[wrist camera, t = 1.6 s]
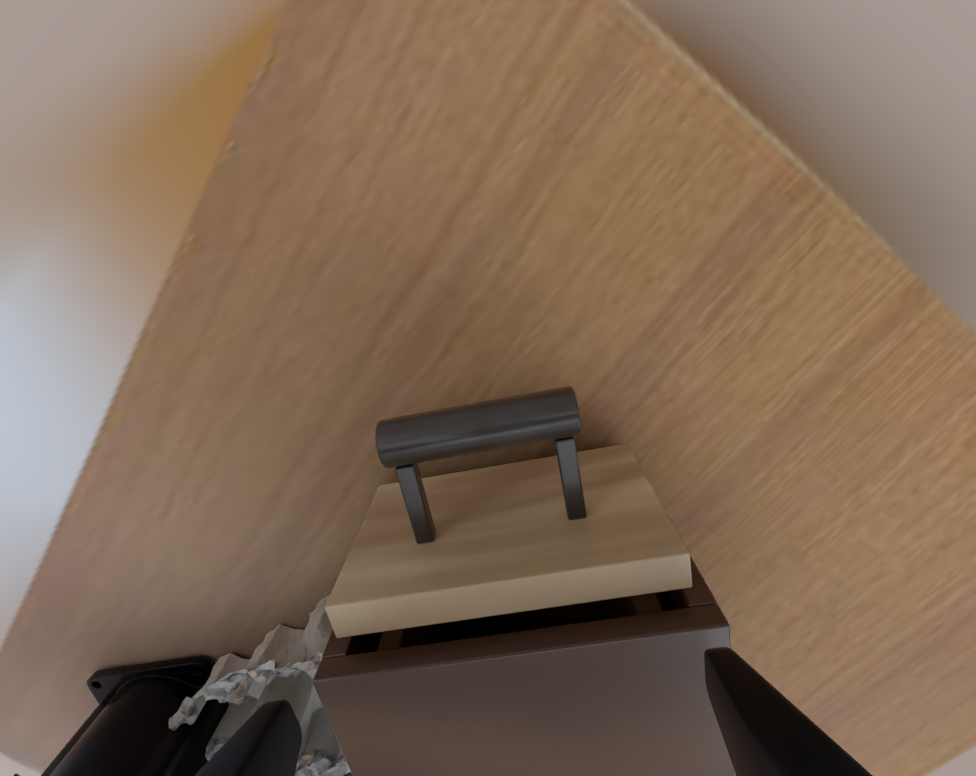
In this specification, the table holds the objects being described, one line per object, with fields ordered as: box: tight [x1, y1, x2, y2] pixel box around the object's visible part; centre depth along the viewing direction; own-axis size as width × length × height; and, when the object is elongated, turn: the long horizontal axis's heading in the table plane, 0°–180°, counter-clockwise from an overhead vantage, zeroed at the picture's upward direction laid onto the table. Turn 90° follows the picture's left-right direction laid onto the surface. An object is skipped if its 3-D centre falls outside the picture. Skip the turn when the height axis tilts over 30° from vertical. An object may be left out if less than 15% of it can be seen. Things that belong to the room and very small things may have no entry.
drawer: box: [325, 386, 692, 651], centre depth 18 cm, size 17×10×7 cm, turn 12°
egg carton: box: [169, 596, 351, 776], centre depth 23 cm, size 11×8×4 cm
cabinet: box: [313, 556, 736, 776], centre depth 19 cm, size 14×12×9 cm
